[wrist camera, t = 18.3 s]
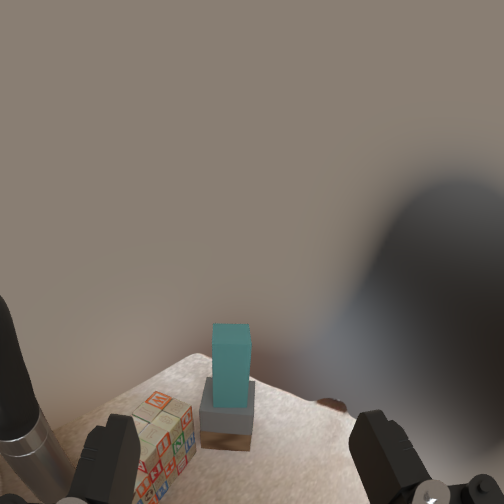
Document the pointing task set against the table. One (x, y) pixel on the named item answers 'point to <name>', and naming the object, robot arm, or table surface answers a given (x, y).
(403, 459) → the robot arm
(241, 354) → the teal pillar
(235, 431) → the tower top block
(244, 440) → the tower base block
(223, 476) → the table surface
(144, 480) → the stack of blocks
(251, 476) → the table surface
